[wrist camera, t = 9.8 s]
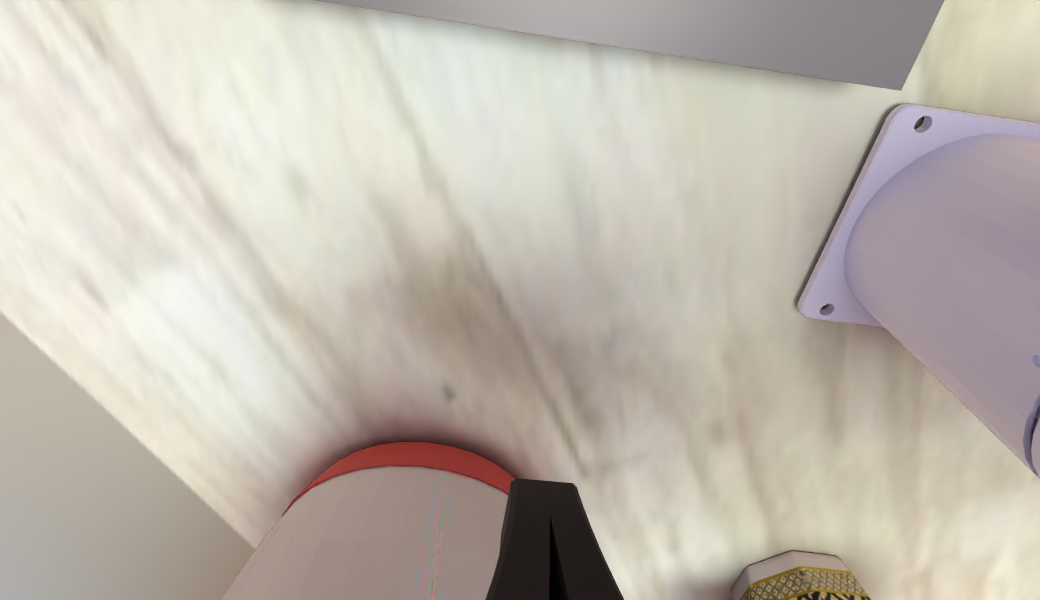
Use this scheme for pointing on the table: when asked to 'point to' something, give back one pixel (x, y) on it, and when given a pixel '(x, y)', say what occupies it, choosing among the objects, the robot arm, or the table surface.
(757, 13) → the button panel
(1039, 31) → the table surface
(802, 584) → the ceramic cup
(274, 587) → the citrus juicer
